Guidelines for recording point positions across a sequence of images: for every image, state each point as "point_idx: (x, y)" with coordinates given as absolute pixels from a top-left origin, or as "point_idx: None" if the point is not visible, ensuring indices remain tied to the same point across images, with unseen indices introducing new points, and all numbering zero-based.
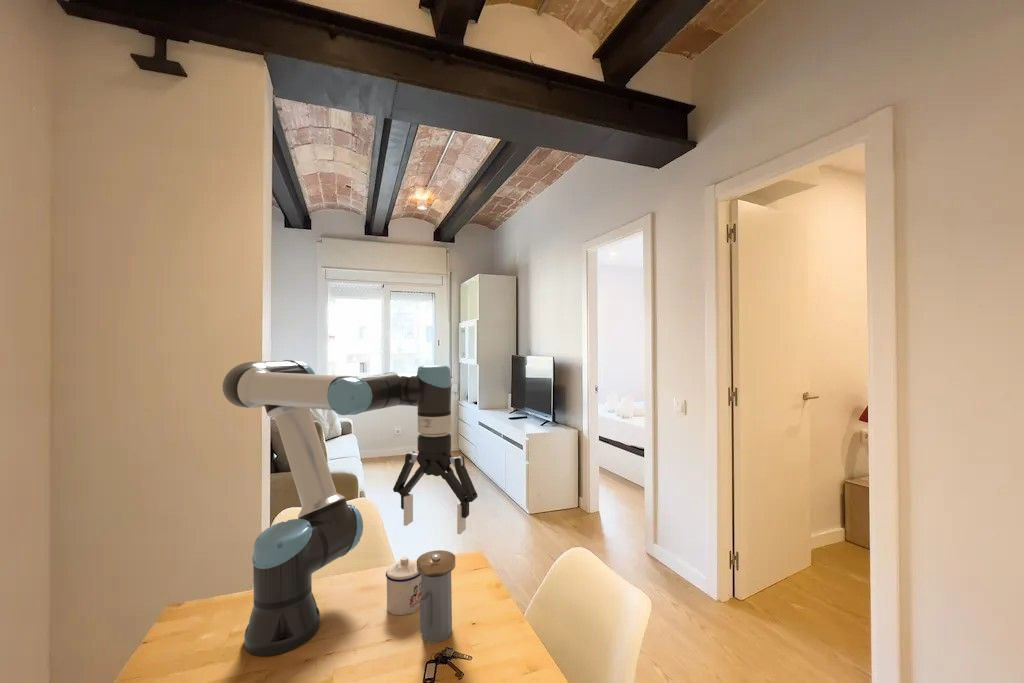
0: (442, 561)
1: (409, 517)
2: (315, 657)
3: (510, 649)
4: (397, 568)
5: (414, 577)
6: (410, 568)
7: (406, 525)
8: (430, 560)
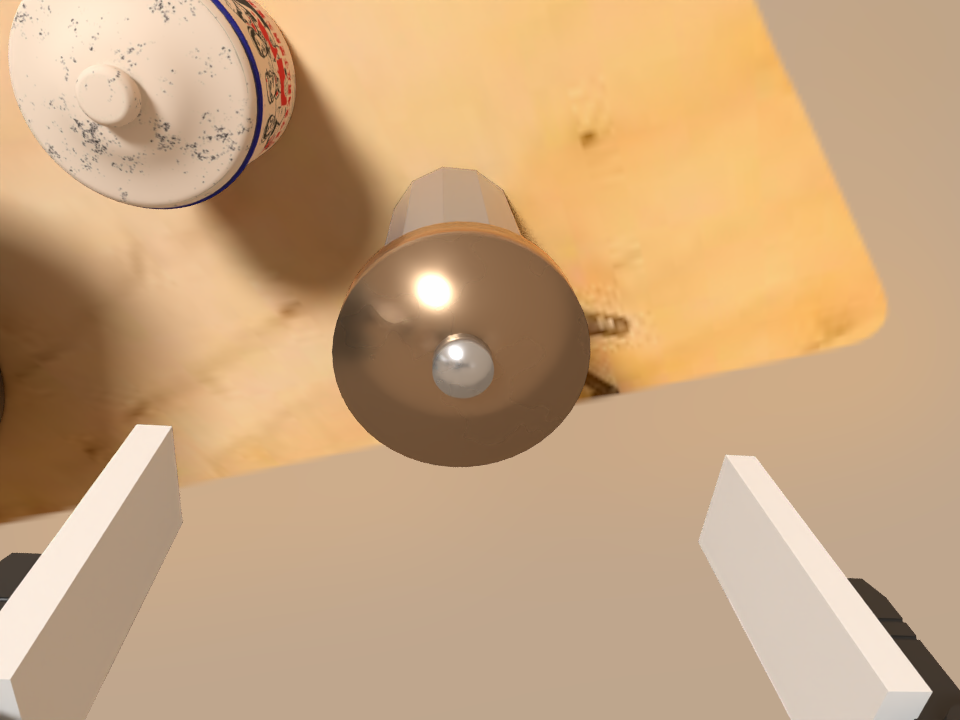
0: (516, 377)
1: (154, 520)
2: (106, 436)
3: (758, 257)
4: (113, 157)
5: (250, 152)
6: (191, 127)
7: (181, 524)
8: (433, 383)
